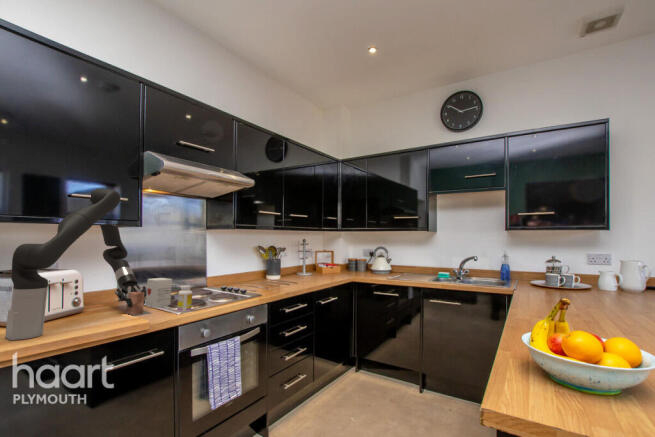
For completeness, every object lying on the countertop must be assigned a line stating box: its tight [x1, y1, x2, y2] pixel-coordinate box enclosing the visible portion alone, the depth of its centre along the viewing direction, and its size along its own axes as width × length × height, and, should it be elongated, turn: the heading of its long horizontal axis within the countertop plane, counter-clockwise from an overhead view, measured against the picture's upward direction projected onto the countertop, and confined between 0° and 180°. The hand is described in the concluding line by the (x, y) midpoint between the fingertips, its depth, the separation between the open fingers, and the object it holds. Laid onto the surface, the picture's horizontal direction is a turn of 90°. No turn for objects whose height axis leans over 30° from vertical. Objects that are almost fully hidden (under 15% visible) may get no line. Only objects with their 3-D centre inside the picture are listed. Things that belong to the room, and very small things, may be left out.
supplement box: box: [145, 277, 173, 309], centre depth 172 cm, size 9×9×15 cm
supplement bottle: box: [176, 284, 193, 313], centre depth 162 cm, size 7×7×13 cm
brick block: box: [125, 292, 145, 315], centre depth 151 cm, size 5×5×10 cm
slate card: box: [124, 310, 152, 317], centre depth 151 cm, size 12×10×1 cm
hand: (137, 305), depth 150 cm, fingers closed on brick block, 5 cm apart
